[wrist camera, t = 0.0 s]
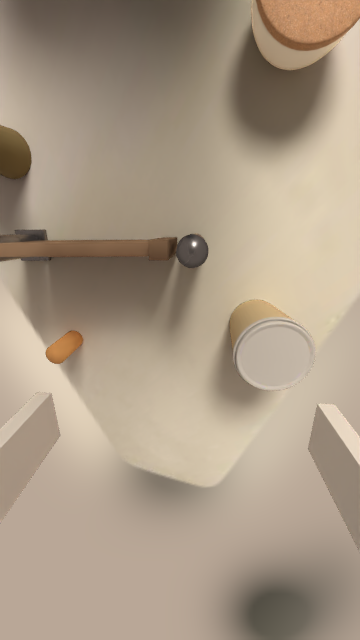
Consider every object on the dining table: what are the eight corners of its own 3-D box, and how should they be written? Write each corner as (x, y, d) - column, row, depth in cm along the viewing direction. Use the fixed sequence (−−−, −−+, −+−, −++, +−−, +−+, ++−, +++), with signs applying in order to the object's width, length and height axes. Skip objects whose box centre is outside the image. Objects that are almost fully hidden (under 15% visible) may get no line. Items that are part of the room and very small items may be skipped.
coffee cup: (229, 353, 42) (241, 399, 31) (219, 301, 39) (226, 329, 28) (287, 343, 41) (321, 386, 29) (280, 287, 38) (314, 311, 26)
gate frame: (17, 230, 38) (-81, 229, 25) (205, 228, 36) (209, 226, 22) (23, 260, 39) (-66, 274, 26) (204, 259, 37) (207, 275, 24)
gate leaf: (41, 238, 37) (-20, 241, 27) (177, 237, 35) (167, 239, 25) (44, 252, 38) (-15, 260, 27) (177, 252, 36) (168, 260, 26)
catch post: (64, 330, 43) (43, 345, 37) (81, 330, 43) (63, 346, 37) (67, 346, 44) (47, 363, 38) (84, 346, 44) (66, 364, 38)
